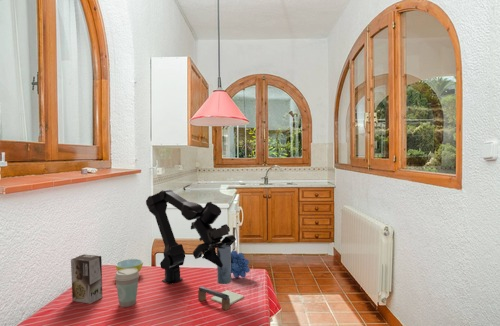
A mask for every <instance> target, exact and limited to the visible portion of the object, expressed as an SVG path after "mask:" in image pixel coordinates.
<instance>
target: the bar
mask: <svg viewBox="0 0 500 326" xmlns="http://www.w3.org/2000/svg"><path fill="white" fill-rule="evenodd" d="M199 290H200V291H202V292H205V293H206V294H209V295H211V296H213V297H214V296H217V297H220V298H223V299H225V300H228V299H229V295H226V294H223V293H222V292H220V291H216V290H214V289H211V288H207V287H205V286H202V285H201V286H198V291H199Z"/></svg>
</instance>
